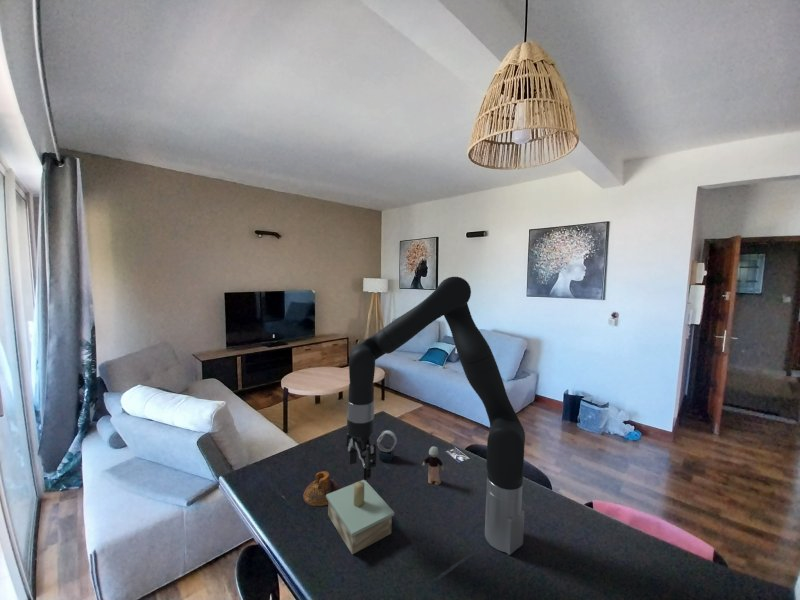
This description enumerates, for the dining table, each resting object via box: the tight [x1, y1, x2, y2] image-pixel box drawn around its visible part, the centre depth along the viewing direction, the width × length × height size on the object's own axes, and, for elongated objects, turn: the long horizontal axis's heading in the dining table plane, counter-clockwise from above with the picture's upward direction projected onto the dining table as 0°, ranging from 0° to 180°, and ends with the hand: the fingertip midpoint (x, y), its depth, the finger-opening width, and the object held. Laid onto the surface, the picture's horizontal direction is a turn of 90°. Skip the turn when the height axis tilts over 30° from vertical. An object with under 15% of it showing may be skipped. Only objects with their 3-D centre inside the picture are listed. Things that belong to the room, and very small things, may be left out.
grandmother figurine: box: [421, 446, 445, 486], centre depth 109 cm, size 8×4×13 cm, turn 84°
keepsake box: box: [327, 501, 393, 555], centre depth 89 cm, size 16×12×6 cm
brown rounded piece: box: [302, 470, 341, 507], centre depth 101 cm, size 12×12×7 cm
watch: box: [376, 429, 398, 464], centre depth 123 cm, size 6×8×11 cm
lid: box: [326, 479, 395, 536], centre depth 89 cm, size 17×13×6 cm
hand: (359, 470), depth 88 cm, fingers open, 8 cm apart
